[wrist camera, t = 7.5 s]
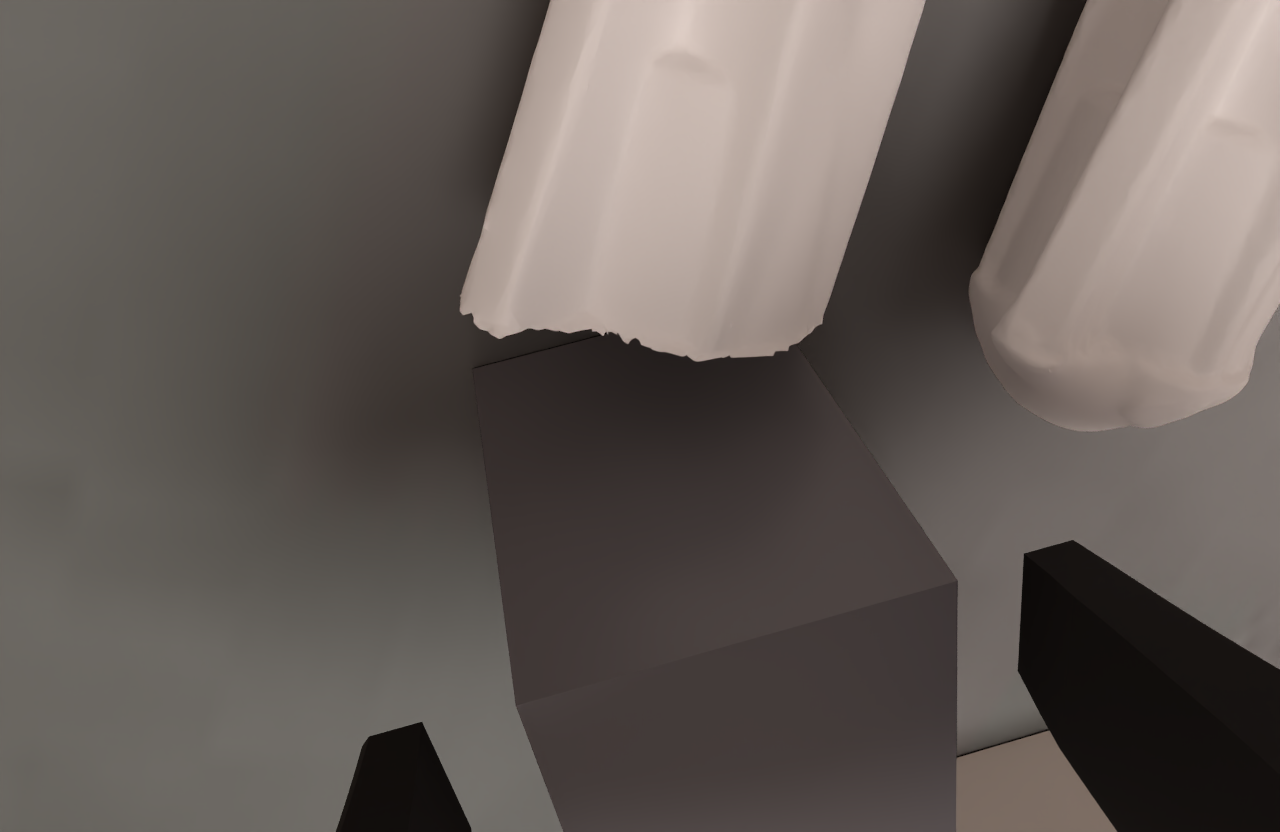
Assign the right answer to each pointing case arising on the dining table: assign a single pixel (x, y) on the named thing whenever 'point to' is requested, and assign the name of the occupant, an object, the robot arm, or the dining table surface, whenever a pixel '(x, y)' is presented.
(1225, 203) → the salt and pepper shakers
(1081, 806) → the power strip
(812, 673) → the block
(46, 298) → the dining table surface
